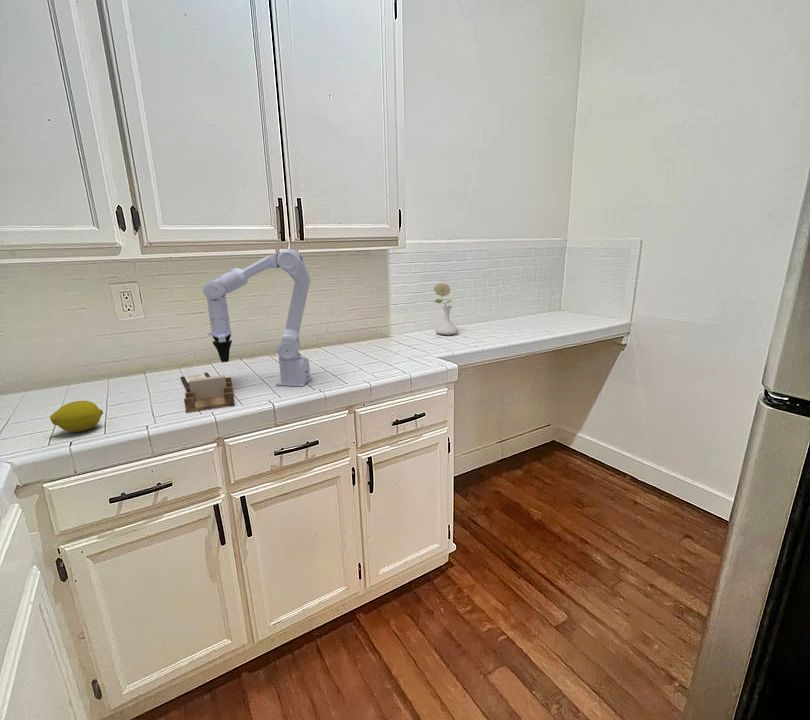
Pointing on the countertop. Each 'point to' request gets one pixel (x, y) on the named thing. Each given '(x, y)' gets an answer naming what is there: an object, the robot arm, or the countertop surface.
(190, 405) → the pegged wooden tray
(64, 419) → the lemon
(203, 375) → the chocolate bar
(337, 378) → the countertop surface
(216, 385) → the clay slab
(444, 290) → the flower in vase
